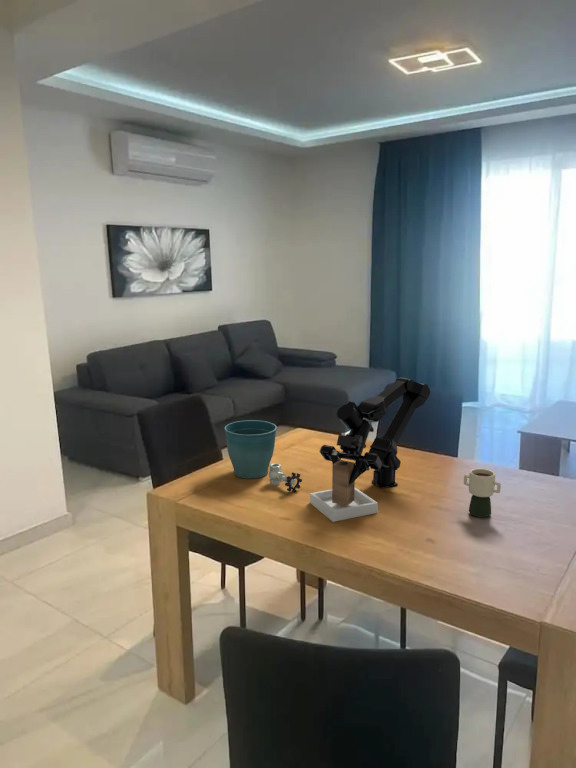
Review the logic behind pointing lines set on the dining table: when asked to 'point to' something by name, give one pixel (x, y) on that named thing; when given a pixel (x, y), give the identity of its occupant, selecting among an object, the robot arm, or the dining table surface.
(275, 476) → the valve
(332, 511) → the tray
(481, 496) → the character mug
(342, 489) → the walnut block
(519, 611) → the dining table surface
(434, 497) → the dining table surface
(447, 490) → the dining table surface
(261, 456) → the flower pot
